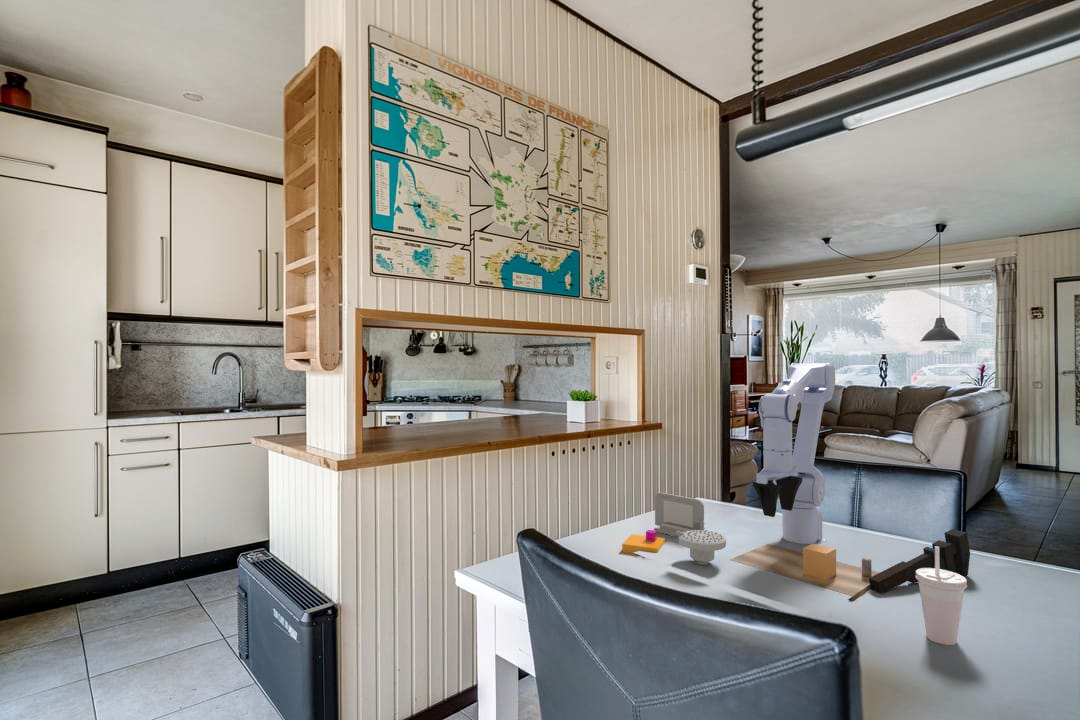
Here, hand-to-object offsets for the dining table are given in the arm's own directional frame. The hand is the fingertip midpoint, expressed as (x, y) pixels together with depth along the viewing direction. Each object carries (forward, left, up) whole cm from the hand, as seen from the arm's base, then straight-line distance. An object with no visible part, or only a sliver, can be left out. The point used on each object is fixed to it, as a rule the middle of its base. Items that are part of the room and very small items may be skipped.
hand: (778, 512), depth 119 cm
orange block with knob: (+17, -23, -11) cm, 30 cm away
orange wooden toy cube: (+5, +11, -9) cm, 15 cm away
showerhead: (+17, -8, -10) cm, 21 cm away
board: (+3, +7, -10) cm, 12 cm away
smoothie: (+15, +33, -10) cm, 38 cm away
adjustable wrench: (-8, +24, -10) cm, 27 cm away
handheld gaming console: (-1, -24, -10) cm, 26 cm away
